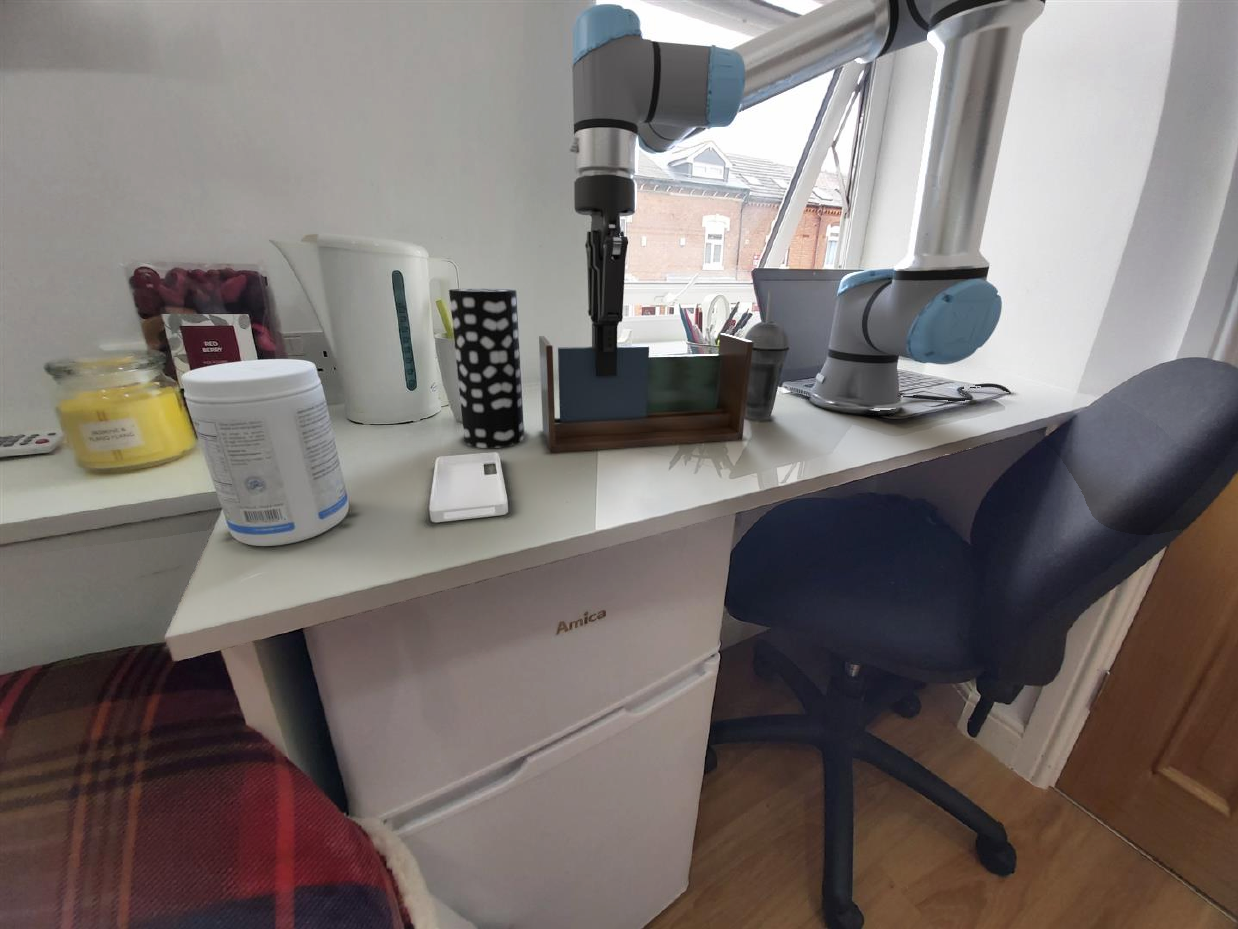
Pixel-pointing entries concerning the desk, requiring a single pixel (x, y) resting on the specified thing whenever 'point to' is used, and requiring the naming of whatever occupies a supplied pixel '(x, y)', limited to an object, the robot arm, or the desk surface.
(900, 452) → the desk surface
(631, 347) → the book
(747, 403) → the beverage cup
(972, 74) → the robot arm
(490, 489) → the phone case
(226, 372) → the supplement tub
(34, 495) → the desk surface
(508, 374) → the white-spotted black cylinder
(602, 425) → the wooden desk organizer
